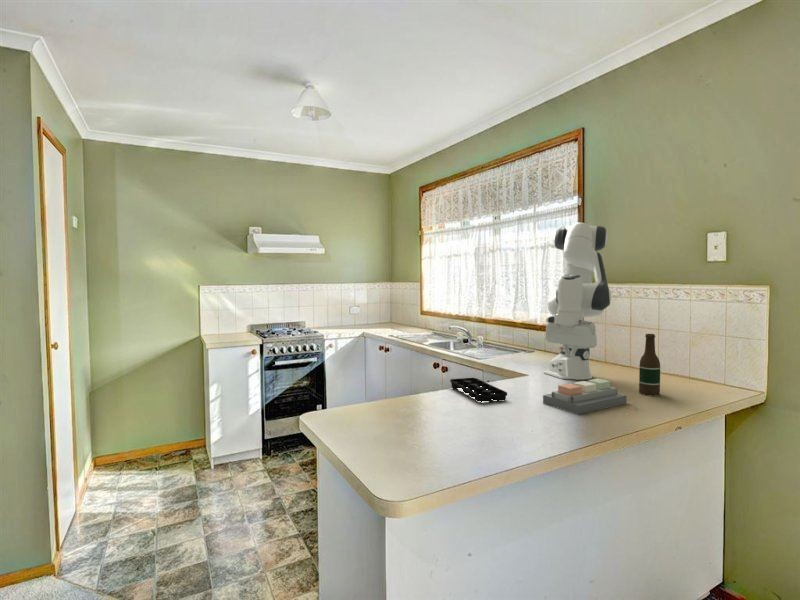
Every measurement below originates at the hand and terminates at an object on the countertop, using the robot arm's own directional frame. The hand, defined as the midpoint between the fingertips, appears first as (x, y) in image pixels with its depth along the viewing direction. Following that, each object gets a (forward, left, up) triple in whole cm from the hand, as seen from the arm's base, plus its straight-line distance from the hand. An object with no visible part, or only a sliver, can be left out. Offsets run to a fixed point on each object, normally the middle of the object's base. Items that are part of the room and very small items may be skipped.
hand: (570, 357), depth 163 cm
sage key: (0, +16, -14) cm, 21 cm away
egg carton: (-32, -17, -19) cm, 41 cm away
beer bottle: (+4, +41, -18) cm, 45 cm away
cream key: (0, +8, -14) cm, 16 cm away
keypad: (0, +8, -18) cm, 20 cm away
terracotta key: (0, 0, -13) cm, 13 cm away
